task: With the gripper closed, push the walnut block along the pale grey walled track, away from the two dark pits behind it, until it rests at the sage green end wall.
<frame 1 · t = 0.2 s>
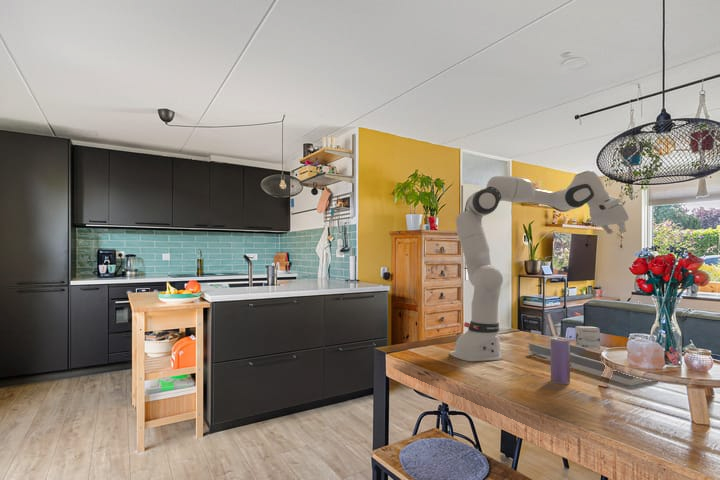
hand: (616, 232, 166), 54 cm above the table, tool tilted 30°, fingers open, 8 cm apart
ink box: (587, 353, 172), on the table
beverage can: (560, 382, 133), on the table
trap track: (587, 366, 153), on the table
walnut block: (596, 363, 149), point 2 cm above the table, touching trap track
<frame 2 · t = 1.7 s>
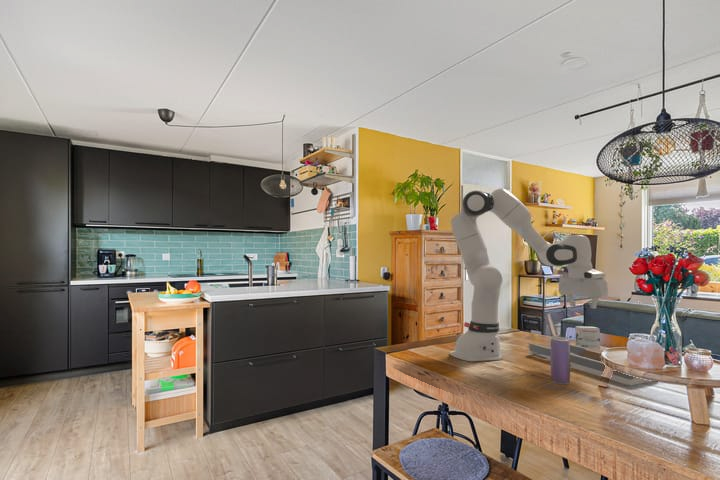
hand: (582, 307, 158), 23 cm above the table, tool pointing down, fingers open, 8 cm apart
nothing on the table moved.
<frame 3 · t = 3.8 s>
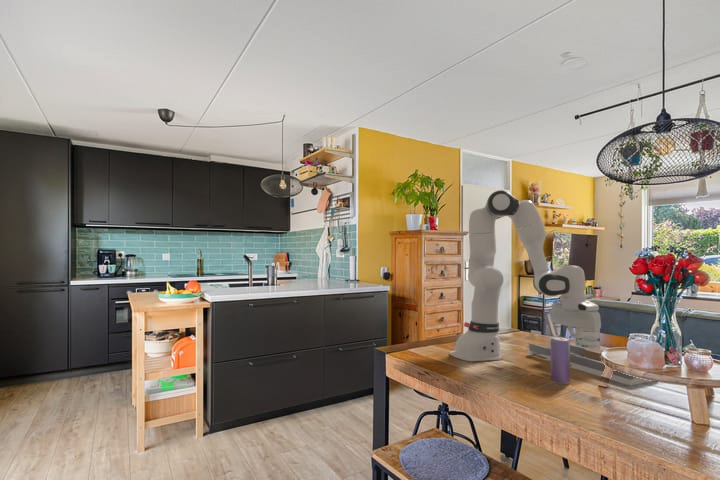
hand: (575, 337, 158), 10 cm above the table, tool pointing down, fingers closed
nothing on the table moved.
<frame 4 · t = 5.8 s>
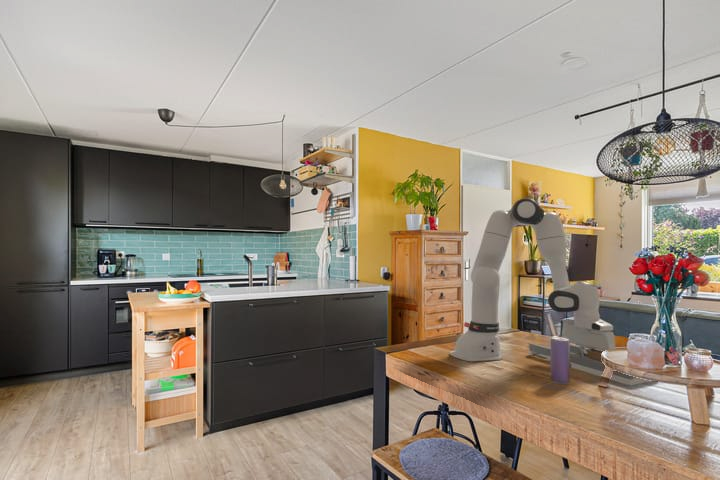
hand: (586, 357, 153), 3 cm above the table, tool pointing down, fingers closed
walnut block: (600, 364, 148), point 2 cm above the table, touching gripper
everything else where it was.
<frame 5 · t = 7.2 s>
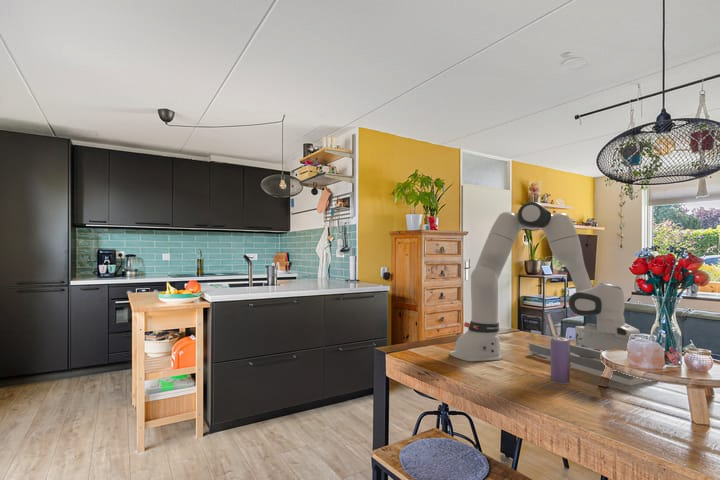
hand: (611, 364, 144), 3 cm above the table, tool pointing down, fingers closed
walnut block: (626, 371, 139), point 2 cm above the table, touching gripper, trap track
everything else where it was.
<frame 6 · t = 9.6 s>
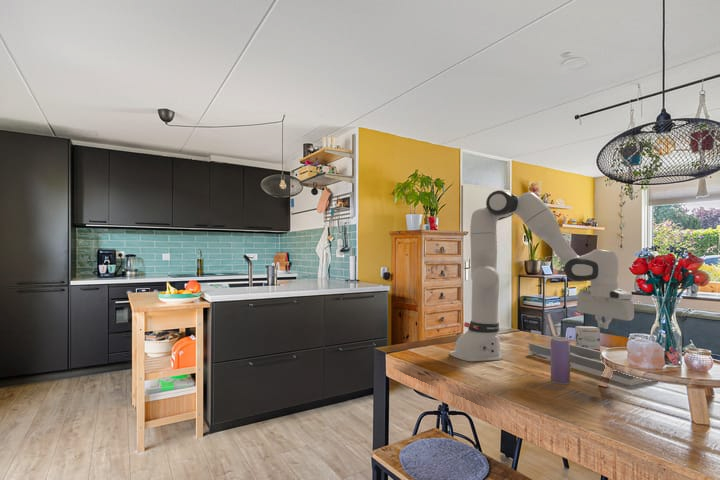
hand: (603, 328, 147), 16 cm above the table, tool pointing down, fingers closed
walnut block: (630, 373, 138), point 2 cm above the table, touching trap track
everything else where it was.
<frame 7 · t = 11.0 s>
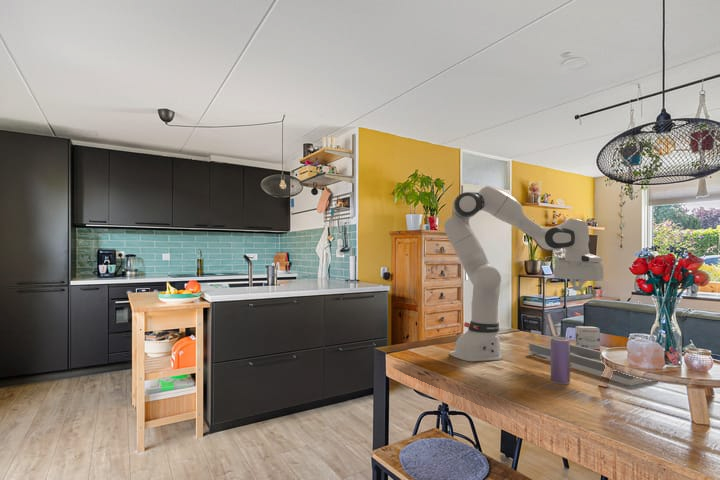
hand: (577, 290, 161), 29 cm above the table, tool pointing down, fingers closed
nothing on the table moved.
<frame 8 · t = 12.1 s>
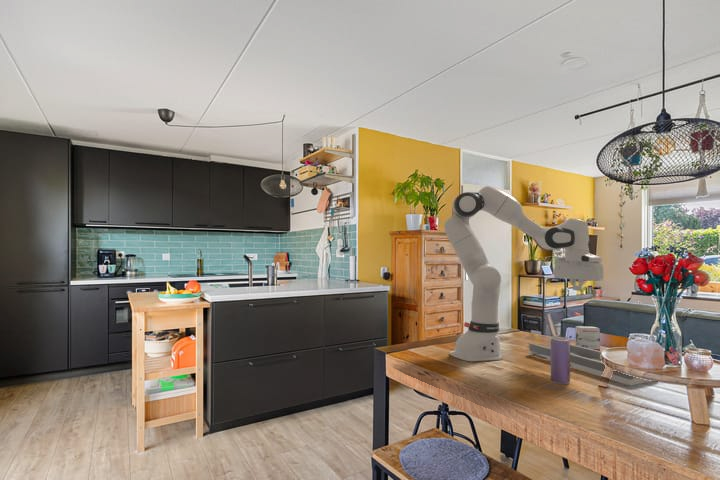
hand: (577, 290, 161), 29 cm above the table, tool pointing down, fingers closed
nothing on the table moved.
at the end: walnut block inside the target area on the trap track (1.9 cm from its centre), point 2.0 cm above the trap track's base; walnut block tilted 0° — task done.
